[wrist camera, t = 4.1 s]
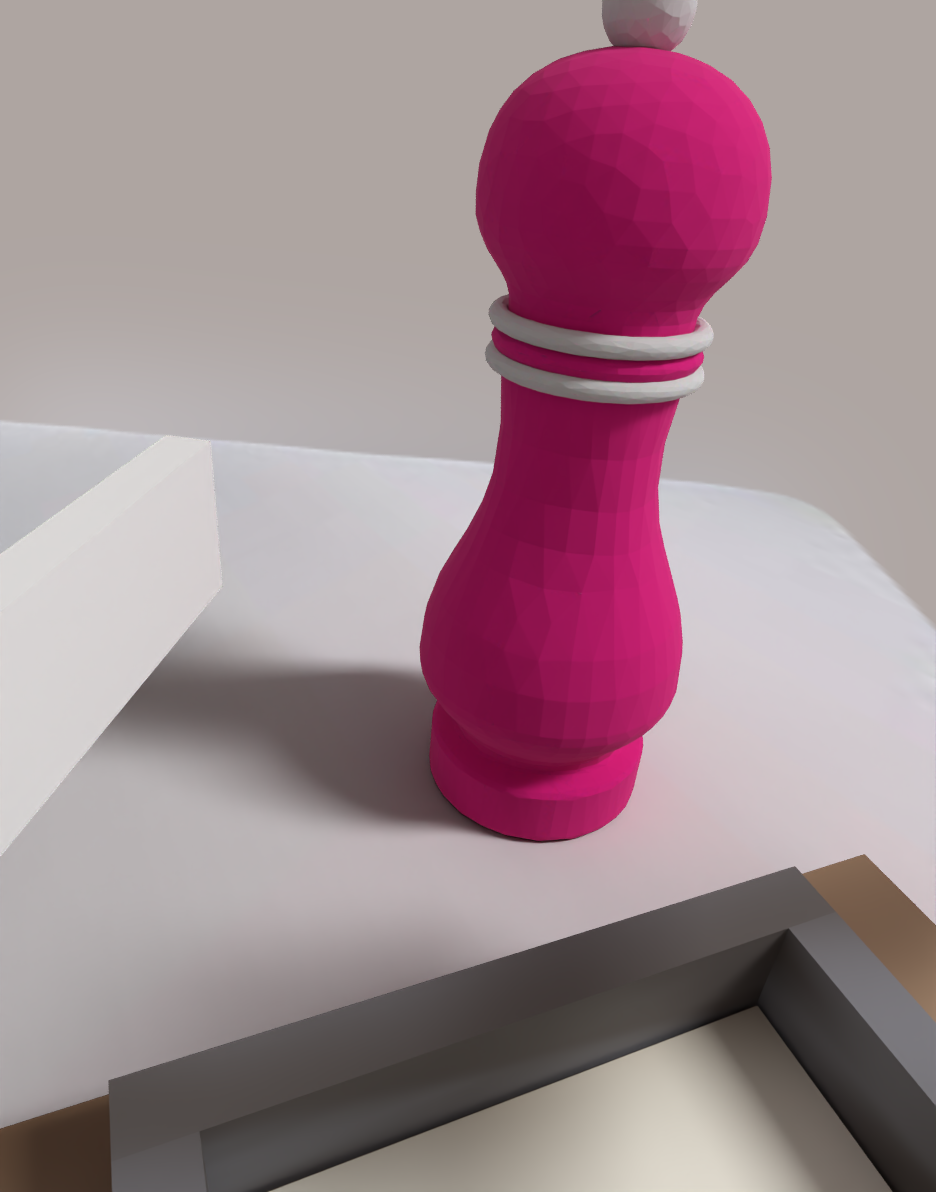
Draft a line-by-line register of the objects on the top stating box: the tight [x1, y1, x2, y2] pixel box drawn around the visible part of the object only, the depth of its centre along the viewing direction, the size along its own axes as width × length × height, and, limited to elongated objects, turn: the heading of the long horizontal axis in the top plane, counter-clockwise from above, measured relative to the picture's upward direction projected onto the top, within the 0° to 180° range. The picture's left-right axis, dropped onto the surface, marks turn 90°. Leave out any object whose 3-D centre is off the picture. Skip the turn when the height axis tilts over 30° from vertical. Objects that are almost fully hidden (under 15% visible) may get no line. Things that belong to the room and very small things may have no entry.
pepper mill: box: [420, 0, 772, 841], centre depth 20 cm, size 7×7×20 cm
